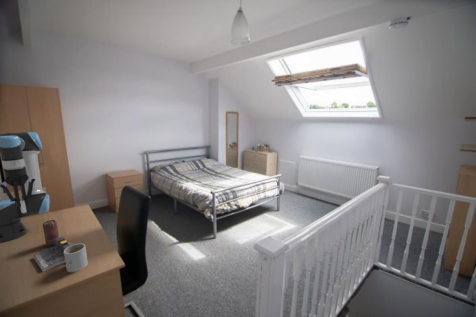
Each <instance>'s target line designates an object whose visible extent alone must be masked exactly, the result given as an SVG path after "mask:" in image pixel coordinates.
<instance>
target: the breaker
mask: <svg viewBox="0 0 476 317" xmlns="http://www.w3.org/2000/svg"><path fill="white" fill-rule="evenodd" d="M65 240H66V239H65V237H63V236H61V237H59V238H58V239H56V242H57V247H58V248H59V249H60V242H62V241H65Z"/></svg>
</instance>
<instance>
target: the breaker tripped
mask: <svg viewBox="0 0 476 317" xmlns="http://www.w3.org/2000/svg"><path fill="white" fill-rule="evenodd" d="M68 242H69V241H68V240H66V239H65V241H62V242H60V249H61V252H62V253H64V251H63V246H65V245H68Z"/></svg>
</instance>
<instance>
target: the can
mask: <svg viewBox="0 0 476 317" xmlns="http://www.w3.org/2000/svg"><path fill="white" fill-rule="evenodd" d="M42 228H43V229H42V230H43V235H44V241H45V245H46V247H48V248H51V247H53V246H56V245H57V242H56V239H58V238H60V235H59V229H58V224H57V221H56V220H55V219H52V220H47V221H44V222H43V223H42Z"/></svg>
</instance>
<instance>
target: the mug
mask: <svg viewBox="0 0 476 317" xmlns="http://www.w3.org/2000/svg"><path fill="white" fill-rule="evenodd" d="M64 257H65V262H64V263H65V267H66V272H68V273H77V272H79V271H81V270H83V269H85V268H86V267H87V266H88V264H89V263H88V255H87V249H86V244H84V243H75V244H72V245H71V246H69V247H67V248H66V249H65V250H64Z"/></svg>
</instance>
